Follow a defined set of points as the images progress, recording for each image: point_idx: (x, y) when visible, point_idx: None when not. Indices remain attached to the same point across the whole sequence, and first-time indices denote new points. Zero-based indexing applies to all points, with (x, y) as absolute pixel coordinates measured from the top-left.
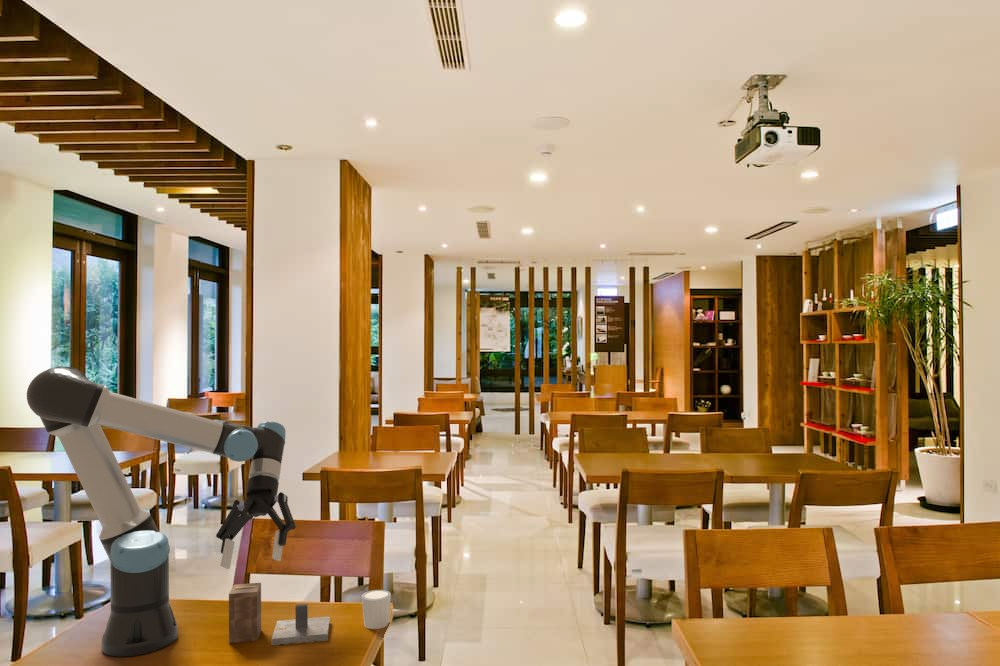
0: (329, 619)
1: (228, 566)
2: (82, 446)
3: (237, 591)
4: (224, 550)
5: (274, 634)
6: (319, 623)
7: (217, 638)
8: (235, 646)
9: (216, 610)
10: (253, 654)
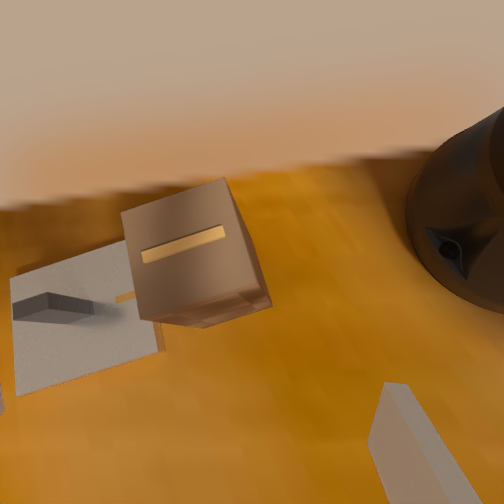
0: (17, 379)
1: (373, 436)
2: None
3: (200, 204)
4: (466, 499)
5: None
6: (37, 341)
7: (299, 265)
8: None
9: None
10: None
